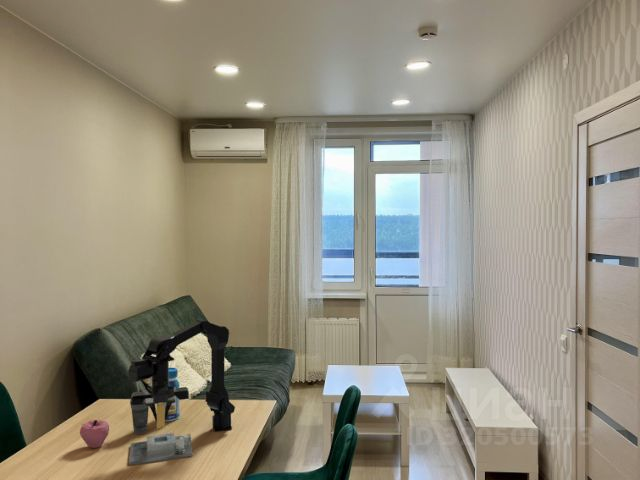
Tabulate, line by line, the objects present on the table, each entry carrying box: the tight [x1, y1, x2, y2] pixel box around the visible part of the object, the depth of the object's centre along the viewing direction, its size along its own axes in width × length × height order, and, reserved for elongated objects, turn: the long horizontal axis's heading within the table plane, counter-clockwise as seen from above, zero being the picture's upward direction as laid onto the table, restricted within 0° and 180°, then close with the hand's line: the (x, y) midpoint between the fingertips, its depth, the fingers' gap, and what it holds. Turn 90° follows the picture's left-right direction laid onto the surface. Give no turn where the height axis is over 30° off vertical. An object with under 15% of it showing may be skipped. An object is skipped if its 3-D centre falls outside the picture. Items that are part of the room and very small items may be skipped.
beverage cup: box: [129, 381, 150, 435], centre depth 190 cm, size 7×7×20 cm
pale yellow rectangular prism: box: [156, 403, 166, 429], centre depth 172 cm, size 3×3×8 cm
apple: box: [79, 419, 110, 449], centre depth 177 cm, size 10×9×10 cm
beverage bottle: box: [165, 367, 181, 422], centre depth 204 cm, size 8×8×20 cm
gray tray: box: [128, 432, 193, 466], centre depth 172 cm, size 20×16×6 cm
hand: (160, 420), depth 172 cm, fingers closed on pale yellow rectangular prism, 3 cm apart
